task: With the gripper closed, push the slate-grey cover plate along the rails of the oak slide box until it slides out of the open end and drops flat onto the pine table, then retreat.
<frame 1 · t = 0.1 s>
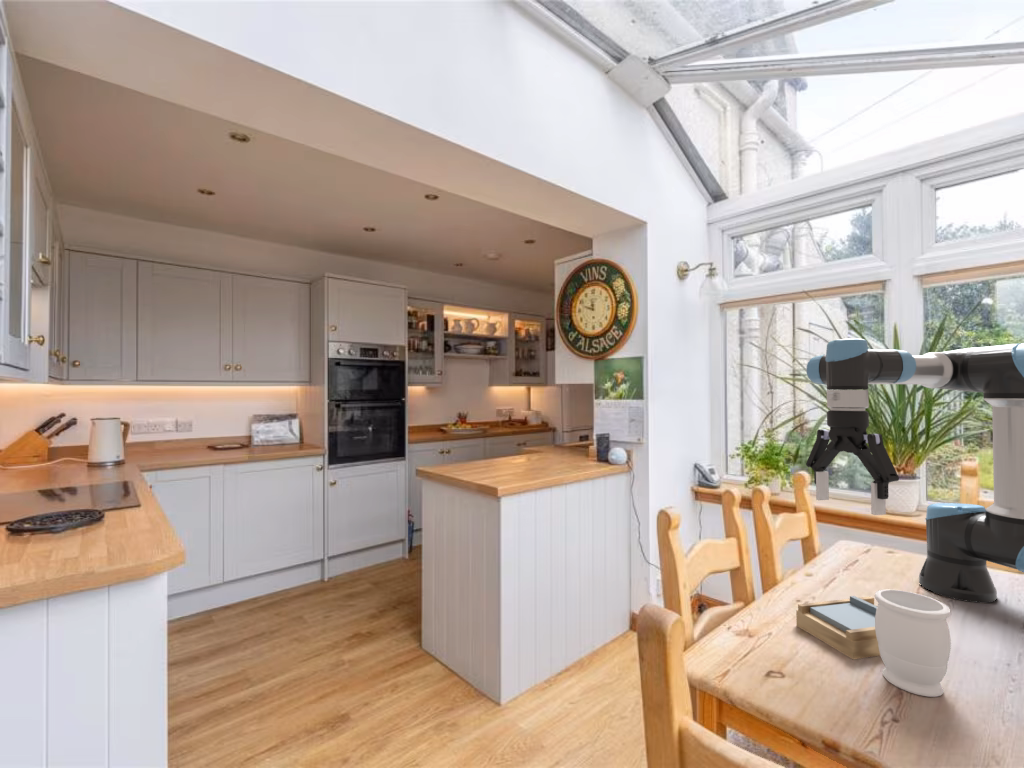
hand: (848, 506, 103), 28 cm above the table, fingers open, 13 cm apart
slide box: (861, 636, 103), on the table
jar: (912, 684, 86), on the table
cover plate: (853, 620, 102), point 3 cm above the table, touching slide box
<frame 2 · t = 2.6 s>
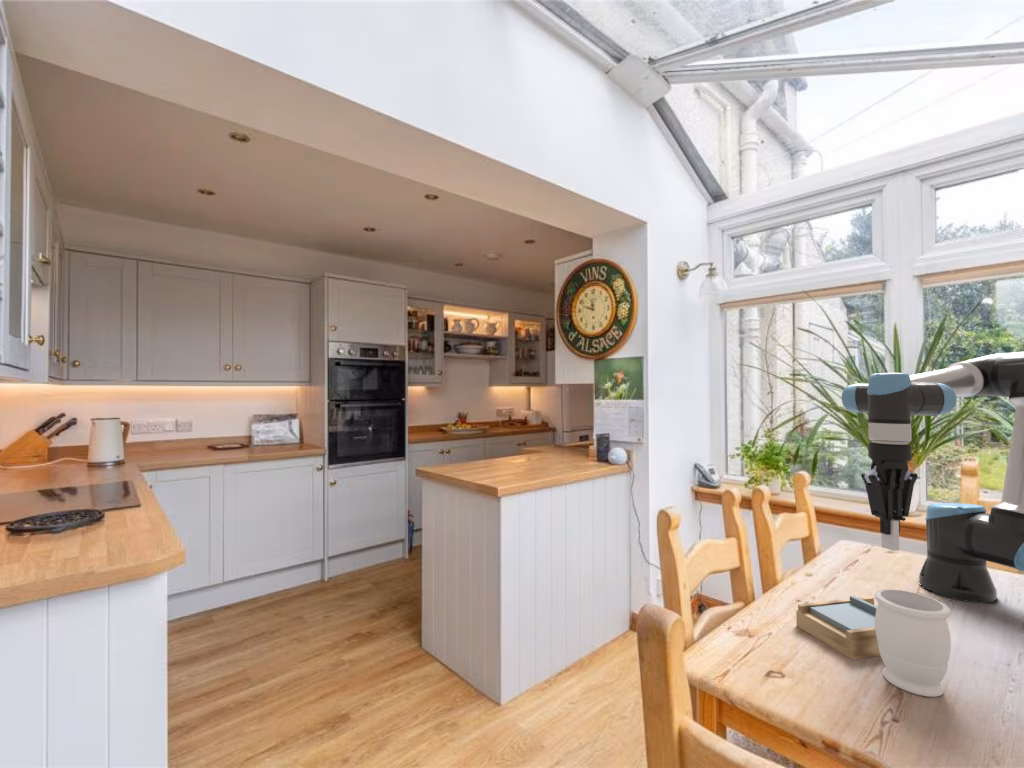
hand: (890, 548, 105), 18 cm above the table, fingers closed
nothing on the table moved.
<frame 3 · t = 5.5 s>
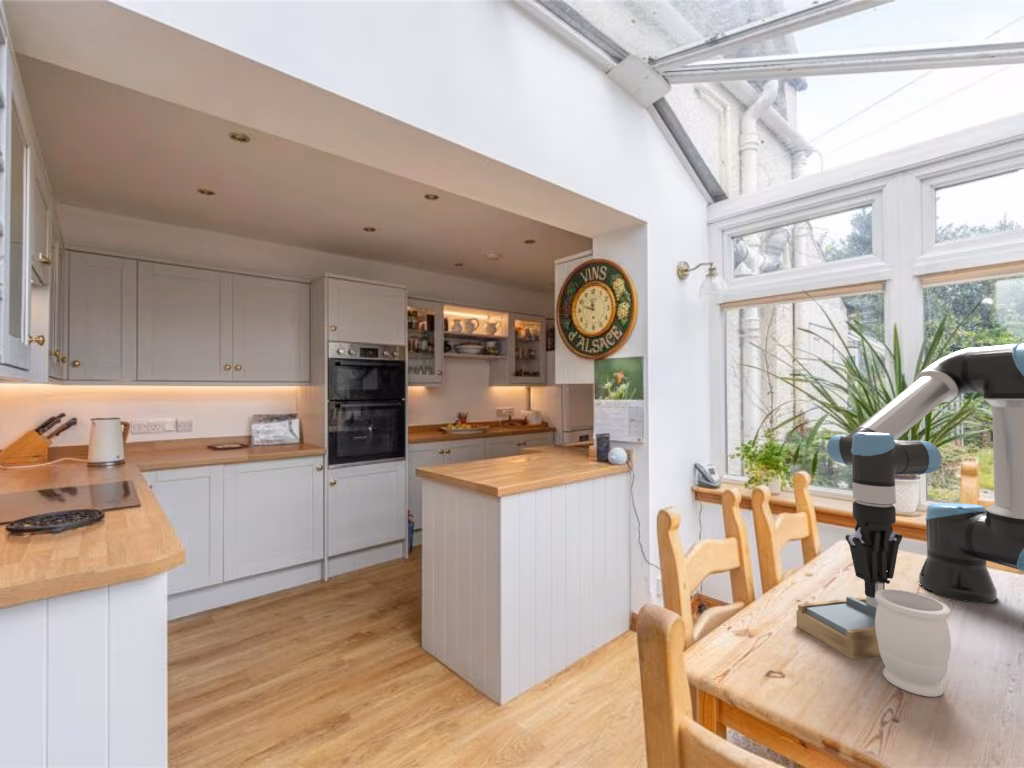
hand: (874, 611, 104), 5 cm above the table, fingers closed
cover plate: (849, 621, 102), point 4 cm above the table, touching slide box
everything else where it was.
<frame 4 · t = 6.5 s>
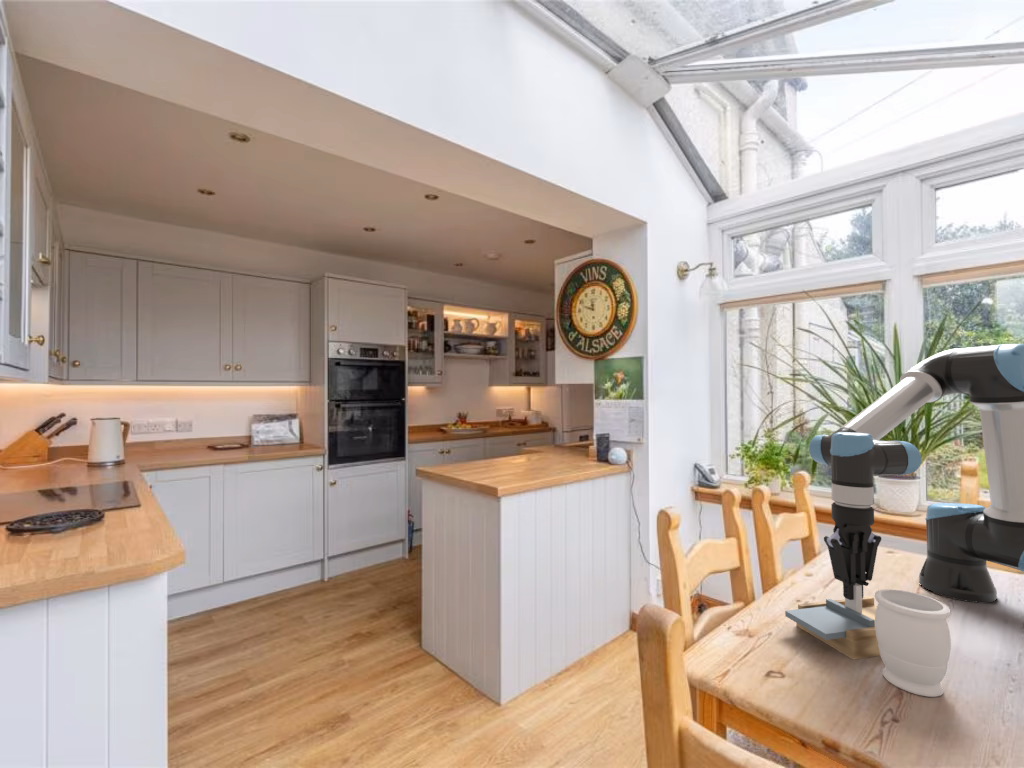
hand: (853, 613, 102), 5 cm above the table, fingers closed
cover plate: (828, 624, 101), point 4 cm above the table, touching slide box
everything else where it was.
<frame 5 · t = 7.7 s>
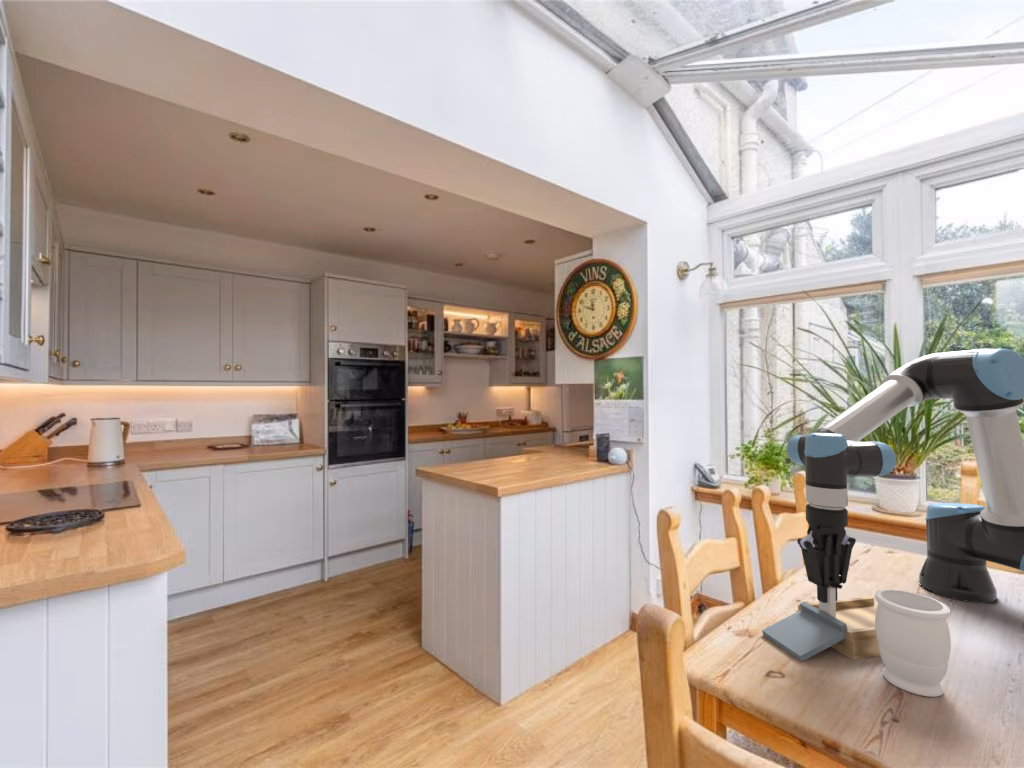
hand: (827, 616, 101), 5 cm above the table, fingers closed
cover plate: (804, 635, 99), point 2 cm above the table, tilted 18°
everything else where it was.
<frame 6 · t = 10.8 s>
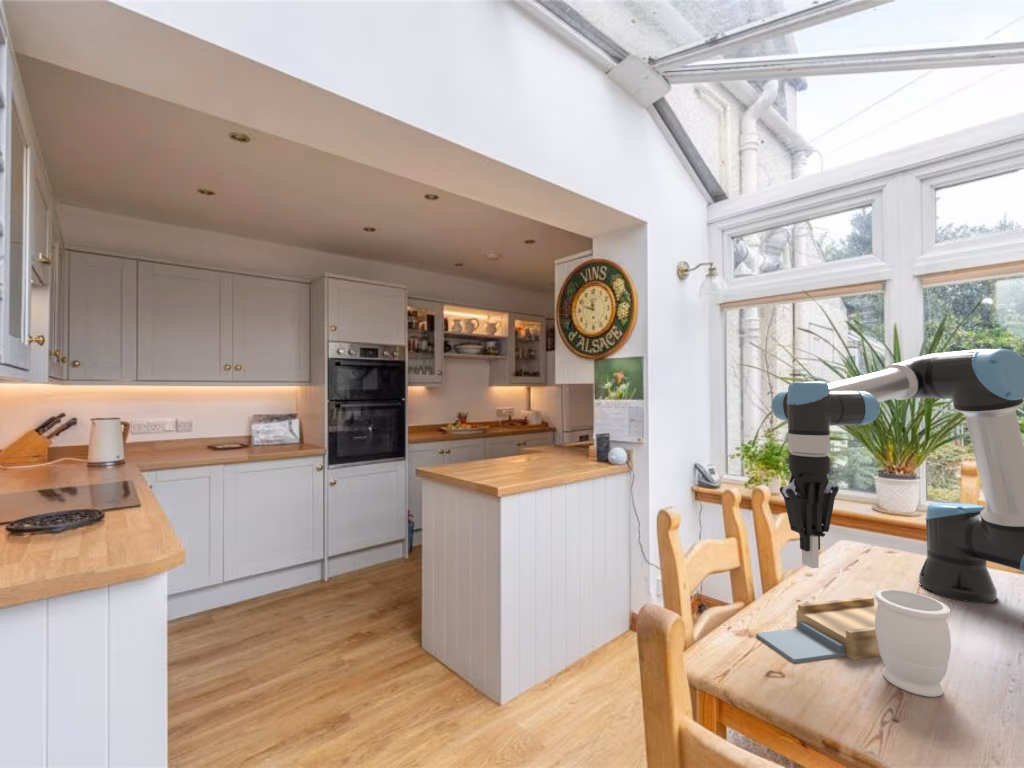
hand: (810, 565, 100), 16 cm above the table, fingers closed
cover plate: (798, 648, 99), on the table
everything else where it was.
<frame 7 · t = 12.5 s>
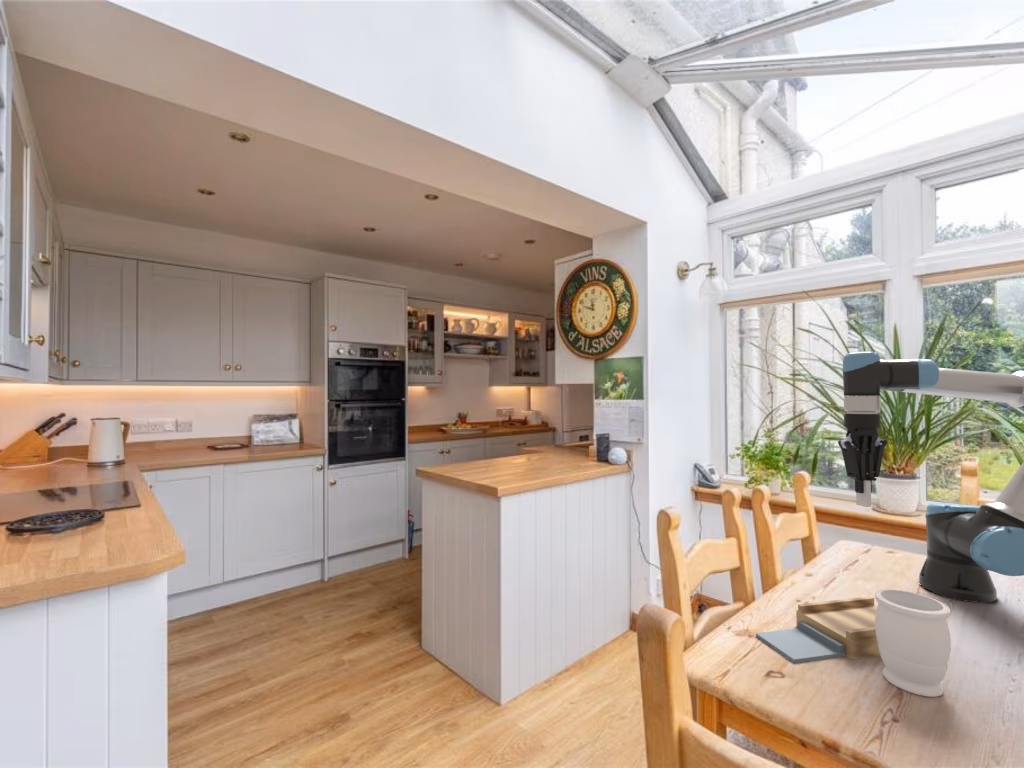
hand: (863, 505, 120), 24 cm above the table, fingers closed
nothing on the table moved.
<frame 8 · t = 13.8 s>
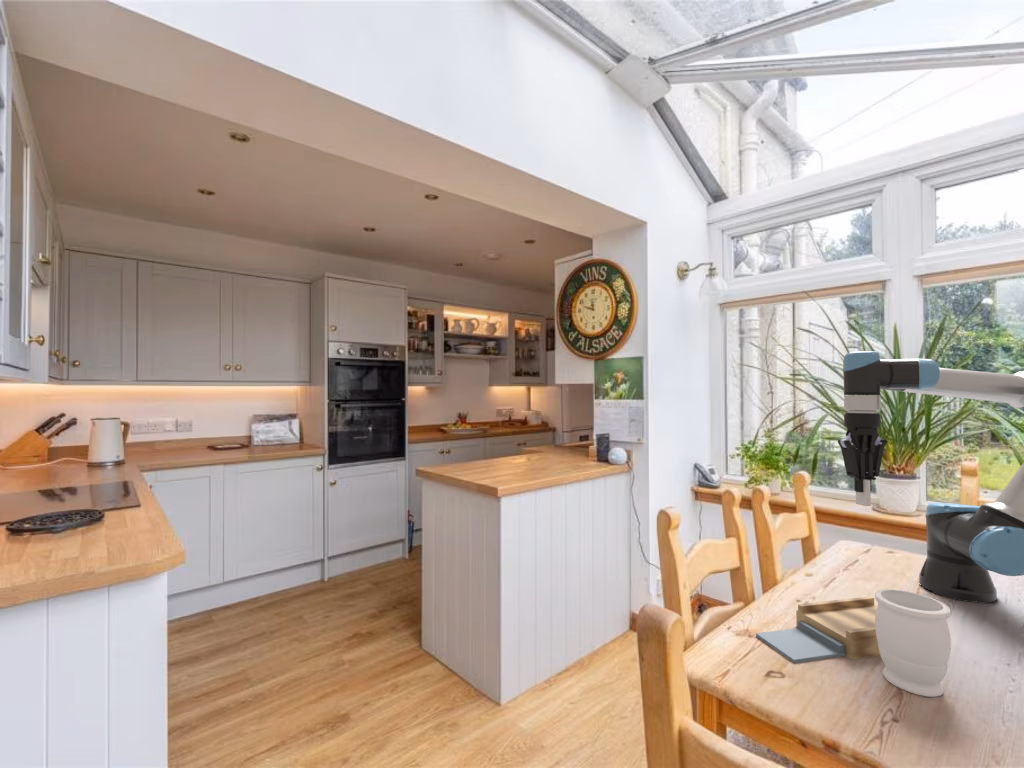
hand: (863, 504, 120), 24 cm above the table, fingers closed
nothing on the table moved.
at the end: cover plate inside the target area on the table beside the slide box (3.1 cm from its centre), on the table; cover plate tilted 0° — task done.
